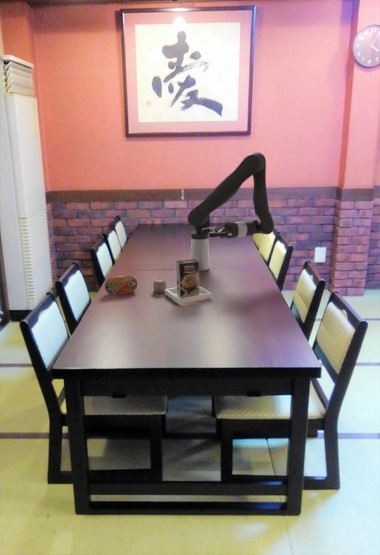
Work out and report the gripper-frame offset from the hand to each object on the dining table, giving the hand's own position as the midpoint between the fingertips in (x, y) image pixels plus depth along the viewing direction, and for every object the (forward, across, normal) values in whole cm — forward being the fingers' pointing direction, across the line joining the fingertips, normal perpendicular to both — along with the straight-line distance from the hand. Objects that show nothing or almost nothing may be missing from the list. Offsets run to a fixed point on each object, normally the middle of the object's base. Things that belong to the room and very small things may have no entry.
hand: (205, 233), depth 220 cm
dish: (+14, +10, +26) cm, 32 cm away
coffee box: (+14, +10, +26) cm, 31 cm away
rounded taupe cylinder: (+22, -4, +27) cm, 35 cm away
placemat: (+14, +10, +26) cm, 32 cm away
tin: (+39, -11, +28) cm, 49 cm away
